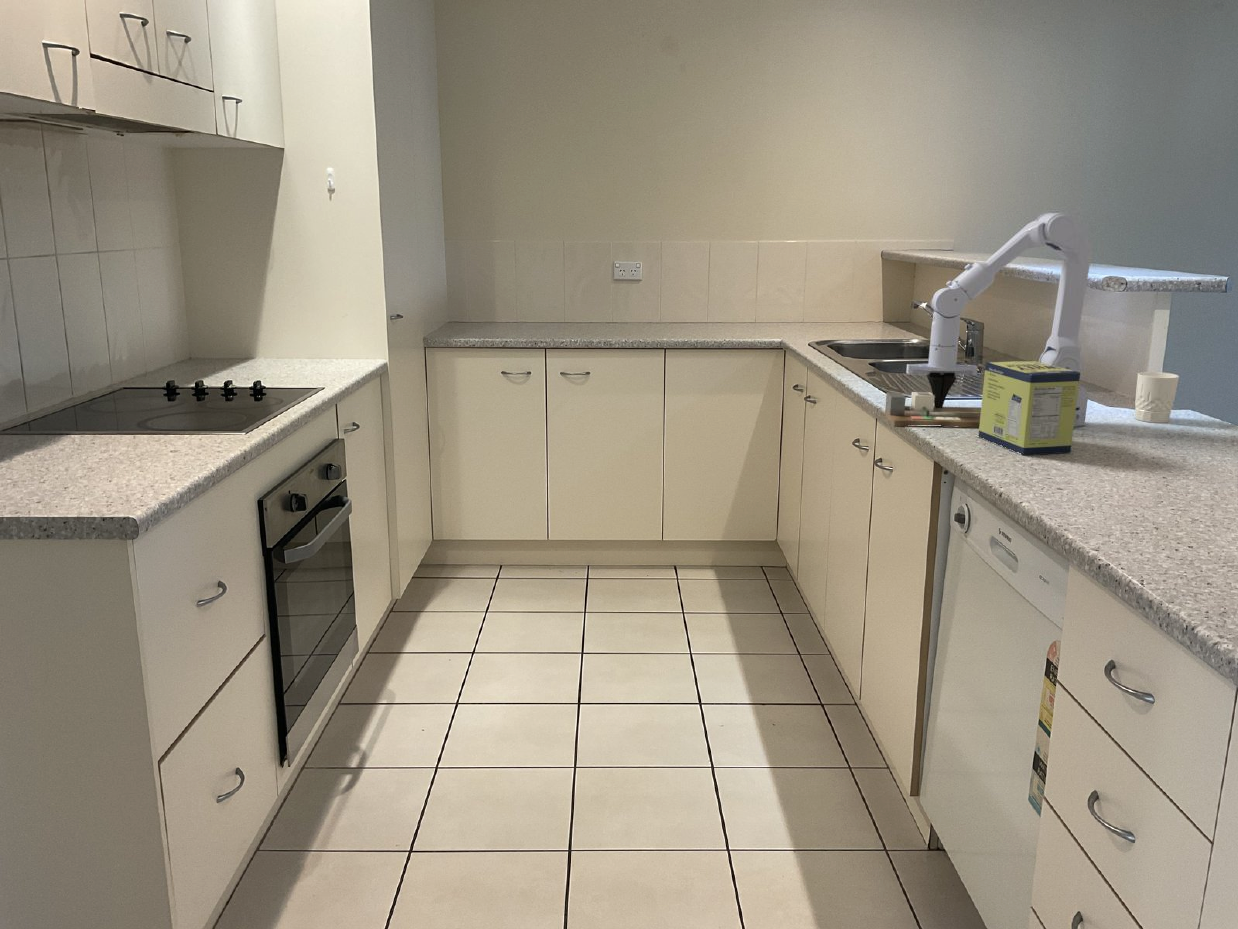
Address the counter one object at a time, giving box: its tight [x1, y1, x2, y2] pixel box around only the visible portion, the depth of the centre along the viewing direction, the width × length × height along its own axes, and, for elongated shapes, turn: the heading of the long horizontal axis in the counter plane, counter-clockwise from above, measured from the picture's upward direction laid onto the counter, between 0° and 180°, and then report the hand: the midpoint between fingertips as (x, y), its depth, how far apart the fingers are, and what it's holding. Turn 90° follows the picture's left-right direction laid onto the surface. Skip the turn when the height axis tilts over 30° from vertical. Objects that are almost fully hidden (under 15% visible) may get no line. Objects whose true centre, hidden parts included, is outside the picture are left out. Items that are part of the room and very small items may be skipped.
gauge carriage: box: [910, 391, 935, 417], centre depth 210 cm, size 4×8×4 cm, turn 175°
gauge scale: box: [910, 416, 961, 421], centre depth 207 cm, size 10×3×1 cm, turn 85°
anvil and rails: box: [884, 391, 981, 417], centre depth 211 cm, size 21×6×4 cm, turn 85°
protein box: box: [978, 359, 1081, 456], centre depth 188 cm, size 10×16×16 cm
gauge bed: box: [884, 409, 980, 429], centre depth 210 cm, size 22×11×1 cm, turn 85°
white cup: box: [1133, 371, 1180, 424], centre depth 211 cm, size 8×8×10 cm
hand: (938, 407), depth 212 cm, fingers closed
